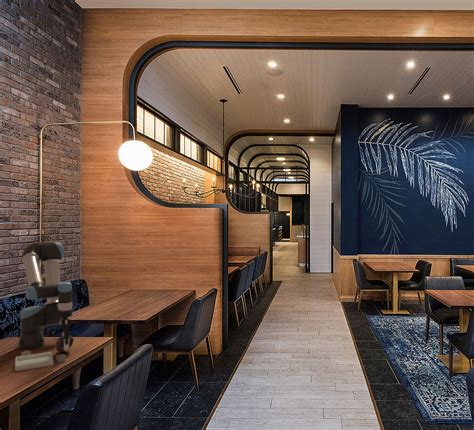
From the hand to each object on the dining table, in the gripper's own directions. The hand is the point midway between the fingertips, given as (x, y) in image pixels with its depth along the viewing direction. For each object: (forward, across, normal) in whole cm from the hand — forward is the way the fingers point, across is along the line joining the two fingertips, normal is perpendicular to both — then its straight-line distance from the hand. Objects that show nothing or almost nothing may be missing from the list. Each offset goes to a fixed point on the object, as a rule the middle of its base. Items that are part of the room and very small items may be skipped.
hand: (65, 346), depth 238 cm
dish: (+3, +12, -16) cm, 20 cm away
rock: (+3, +1, 0) cm, 3 cm away
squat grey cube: (+3, +14, -3) cm, 15 cm away
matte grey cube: (+4, -3, -20) cm, 21 cm away
